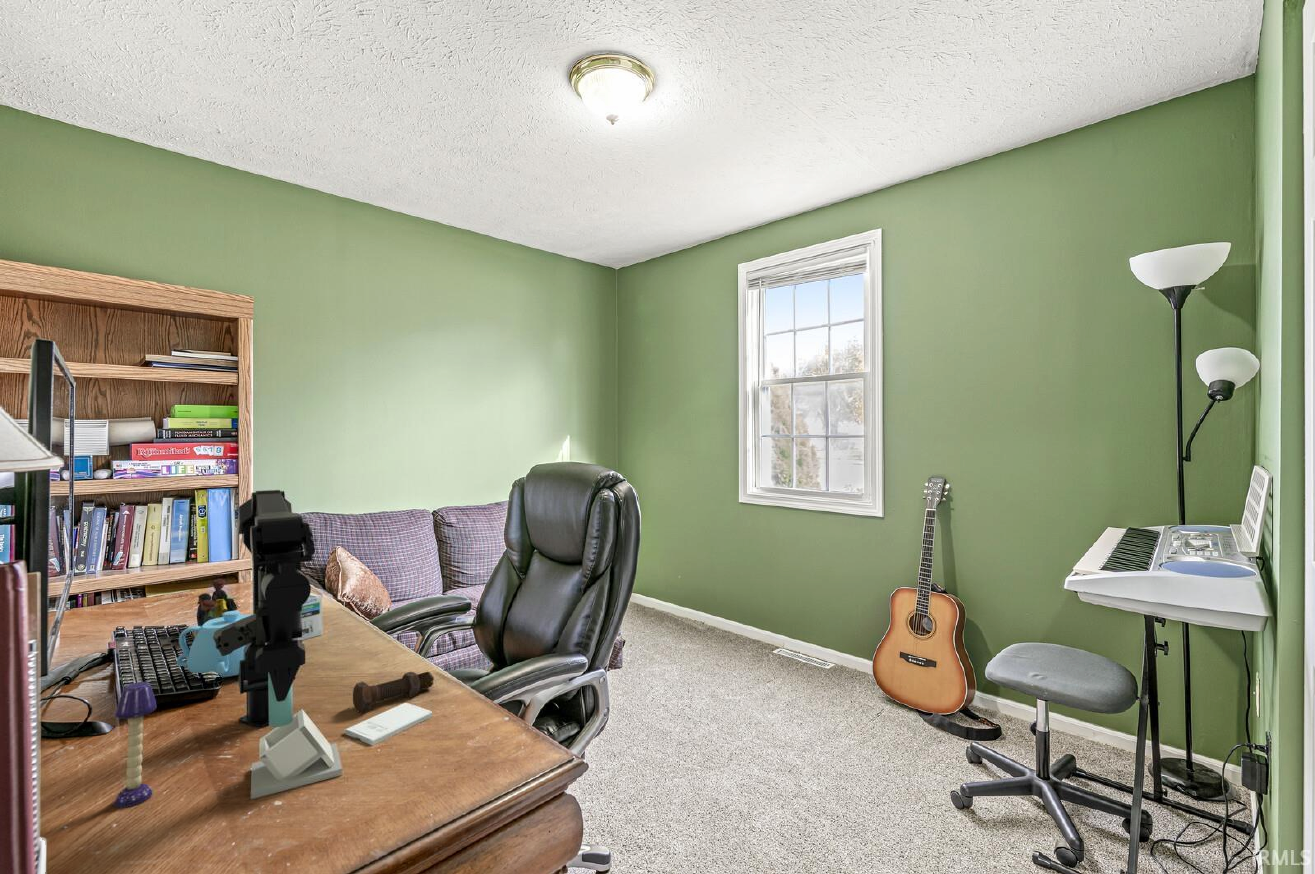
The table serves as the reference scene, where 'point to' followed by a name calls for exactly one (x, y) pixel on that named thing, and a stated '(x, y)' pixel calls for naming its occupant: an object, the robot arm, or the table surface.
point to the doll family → (214, 604)
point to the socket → (293, 758)
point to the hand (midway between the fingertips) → (281, 696)
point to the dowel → (279, 707)
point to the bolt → (390, 689)
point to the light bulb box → (311, 617)
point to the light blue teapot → (211, 648)
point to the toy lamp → (135, 740)
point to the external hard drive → (388, 723)
